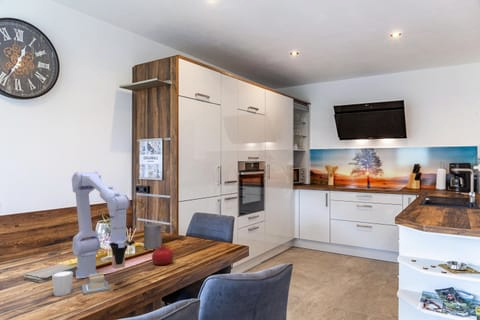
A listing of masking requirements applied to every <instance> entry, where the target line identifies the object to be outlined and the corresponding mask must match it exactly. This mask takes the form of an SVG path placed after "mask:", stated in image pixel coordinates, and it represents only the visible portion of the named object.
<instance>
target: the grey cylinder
mask: <svg viewBox="0 0 480 320" xmlns="http://www.w3.org/2000/svg"><path fill="white" fill-rule="evenodd" d="M73 277H74V273H73V272H72V271H62V272H58V273H55V274H53V275H52V280H51V282H52V290H53V296H56V297H61V296H66V295H69V294H71V293H72V288H73V287H72V286H73Z"/></svg>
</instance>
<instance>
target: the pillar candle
mask: <svg viewBox="0 0 480 320" xmlns="http://www.w3.org/2000/svg"><path fill="white" fill-rule="evenodd" d="M143 228H144V229H143V249H144V248H145V249H156V250H157V249H159V248H156V247H160V248H161V244H162V239H163V237H162V223H160V222H147V223H144V224H143ZM145 249H144V250H145Z"/></svg>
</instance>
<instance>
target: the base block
mask: <svg viewBox="0 0 480 320" xmlns="http://www.w3.org/2000/svg"><path fill="white" fill-rule="evenodd" d="M104 281H105V275H104V272H99V273H98V272H97V274H92V275H89V277H88V283H89V288H90V290H91V289H97V288H102V287H104Z"/></svg>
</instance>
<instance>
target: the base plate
mask: <svg viewBox="0 0 480 320" xmlns="http://www.w3.org/2000/svg"><path fill="white" fill-rule="evenodd" d="M81 289H82V295H83V296H86V295H90V294H96V293H101V292H107V291H111V287H110V284H109V282H108V280H104V287H102V288H97V289H91V290H90V288H89V282H88V283H81Z"/></svg>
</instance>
